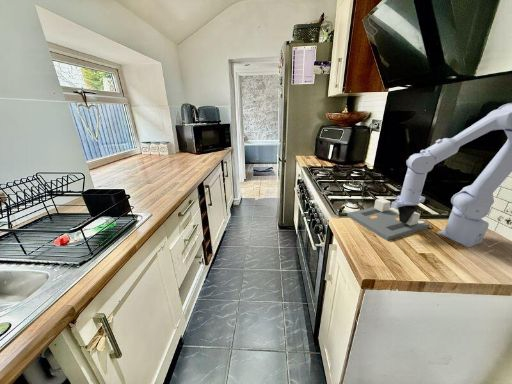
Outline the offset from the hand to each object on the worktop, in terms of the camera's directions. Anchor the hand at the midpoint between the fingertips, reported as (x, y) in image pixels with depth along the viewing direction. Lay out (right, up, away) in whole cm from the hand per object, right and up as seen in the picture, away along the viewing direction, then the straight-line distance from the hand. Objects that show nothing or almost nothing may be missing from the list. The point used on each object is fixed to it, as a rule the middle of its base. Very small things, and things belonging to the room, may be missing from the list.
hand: (402, 221), depth 80 cm
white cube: (+3, 0, +1) cm, 4 cm away
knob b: (-1, +4, +12) cm, 13 cm away
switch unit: (-3, -1, +6) cm, 7 cm away
